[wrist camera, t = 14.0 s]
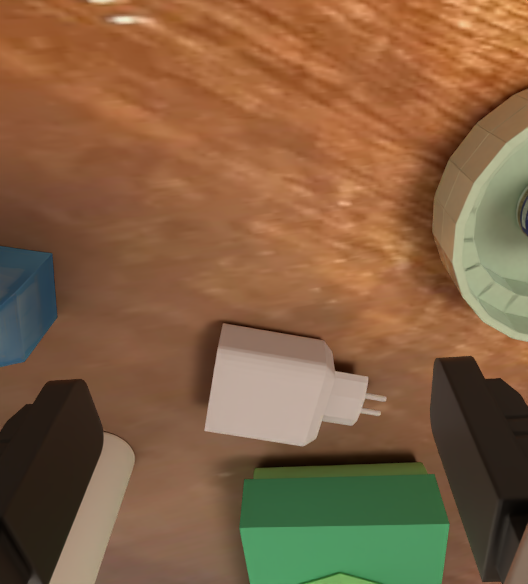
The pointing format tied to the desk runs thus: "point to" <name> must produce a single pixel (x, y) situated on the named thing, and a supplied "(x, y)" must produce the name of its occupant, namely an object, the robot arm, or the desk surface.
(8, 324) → the perfume bottle
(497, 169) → the ceramic bowl
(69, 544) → the spray bottle
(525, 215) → the pill bottle
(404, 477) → the toy tank
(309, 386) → the charger
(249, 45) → the desk surface
